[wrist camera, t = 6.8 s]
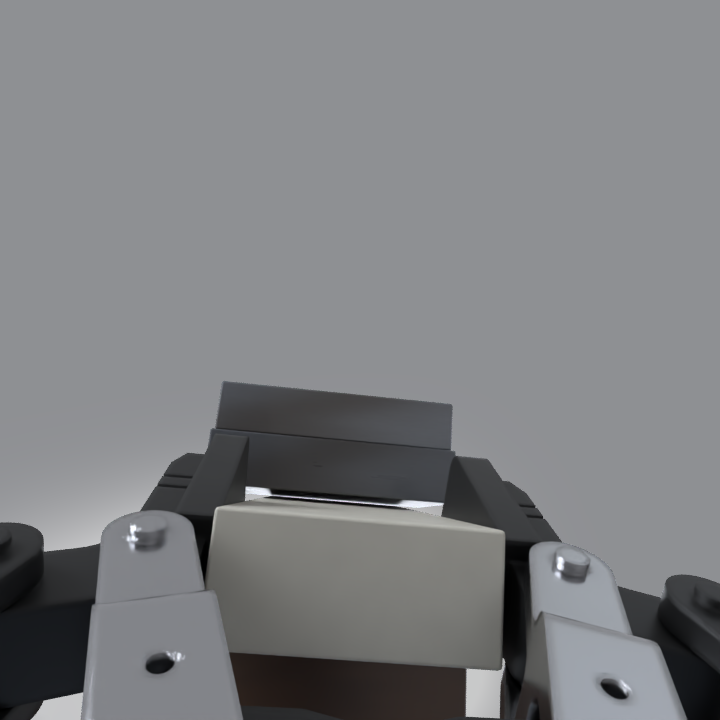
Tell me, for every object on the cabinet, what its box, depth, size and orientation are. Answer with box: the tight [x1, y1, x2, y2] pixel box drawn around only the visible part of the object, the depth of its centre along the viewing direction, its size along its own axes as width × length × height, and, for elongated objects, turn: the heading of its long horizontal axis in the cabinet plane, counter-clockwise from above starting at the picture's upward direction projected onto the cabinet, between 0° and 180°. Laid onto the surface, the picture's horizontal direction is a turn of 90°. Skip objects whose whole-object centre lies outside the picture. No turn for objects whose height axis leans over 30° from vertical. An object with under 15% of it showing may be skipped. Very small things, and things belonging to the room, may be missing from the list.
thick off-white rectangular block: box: [204, 496, 505, 671], centre depth 14 cm, size 4×12×2 cm, turn 5°
